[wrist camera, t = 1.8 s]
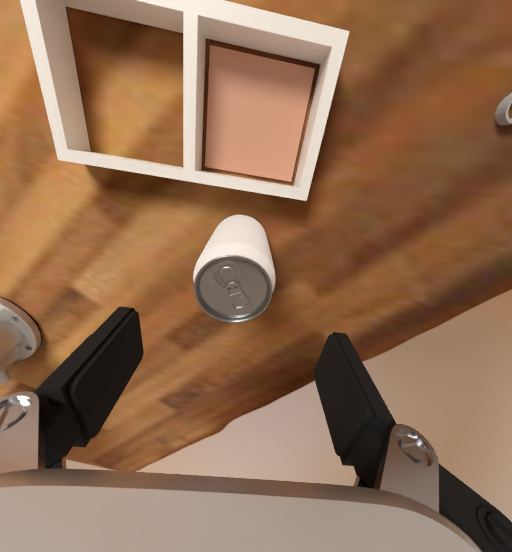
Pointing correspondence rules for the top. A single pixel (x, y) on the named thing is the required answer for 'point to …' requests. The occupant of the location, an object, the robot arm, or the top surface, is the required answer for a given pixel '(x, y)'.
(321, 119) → the caddy
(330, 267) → the top surface
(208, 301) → the can
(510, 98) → the adjustable wrench
